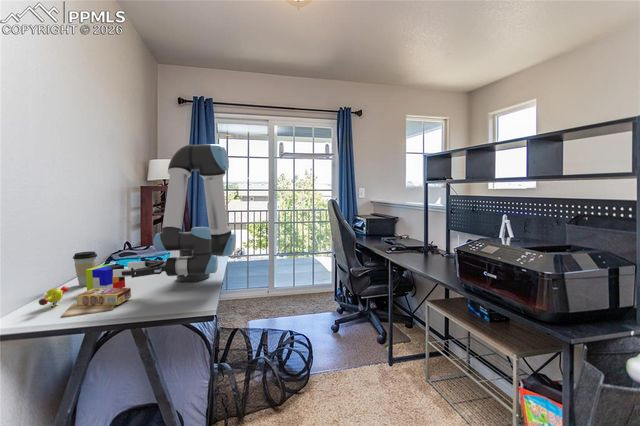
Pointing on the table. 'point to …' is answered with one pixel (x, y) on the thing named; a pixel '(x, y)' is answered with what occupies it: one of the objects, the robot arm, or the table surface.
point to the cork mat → (86, 309)
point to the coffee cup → (84, 265)
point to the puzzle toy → (104, 277)
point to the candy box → (104, 296)
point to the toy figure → (53, 296)
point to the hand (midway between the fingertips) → (121, 269)
